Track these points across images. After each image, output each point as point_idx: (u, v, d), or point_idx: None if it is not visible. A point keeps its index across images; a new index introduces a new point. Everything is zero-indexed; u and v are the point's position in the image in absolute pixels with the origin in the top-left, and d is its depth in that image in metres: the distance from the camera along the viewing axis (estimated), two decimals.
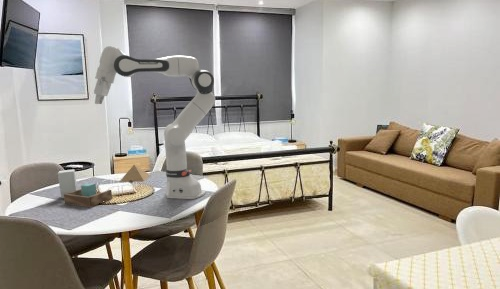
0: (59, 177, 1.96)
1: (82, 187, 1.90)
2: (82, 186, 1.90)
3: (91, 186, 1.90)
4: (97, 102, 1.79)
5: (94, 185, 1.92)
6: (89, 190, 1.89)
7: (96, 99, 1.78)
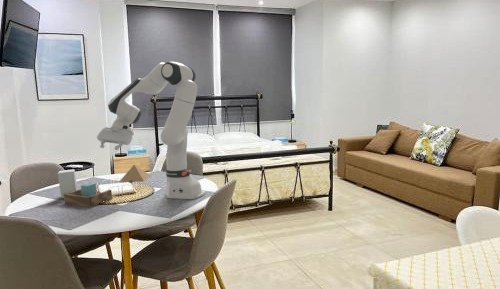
0: (59, 177, 1.96)
1: (82, 187, 1.90)
2: (82, 186, 1.90)
3: (91, 186, 1.90)
4: None
5: (94, 185, 1.92)
6: (89, 190, 1.89)
7: None
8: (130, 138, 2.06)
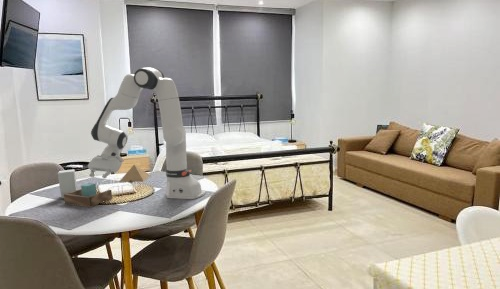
0: (59, 177, 1.96)
1: (82, 187, 1.90)
2: (82, 186, 1.90)
3: (91, 186, 1.90)
4: None
5: (94, 185, 1.92)
6: (89, 190, 1.89)
7: None
8: (118, 165, 1.98)
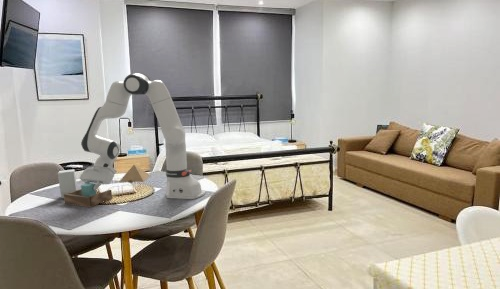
0: (59, 177, 1.96)
1: (82, 187, 1.90)
2: (82, 186, 1.90)
3: (91, 186, 1.90)
4: None
5: (94, 185, 1.92)
6: (89, 190, 1.89)
7: None
8: (111, 177, 1.93)
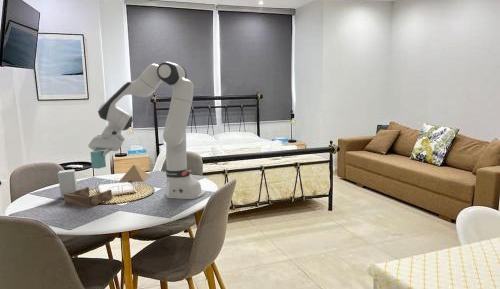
0: (59, 177, 1.96)
1: (91, 153, 1.94)
2: (91, 152, 1.94)
3: (100, 152, 1.94)
4: None
5: None
6: (98, 157, 1.93)
7: None
8: (119, 144, 1.97)
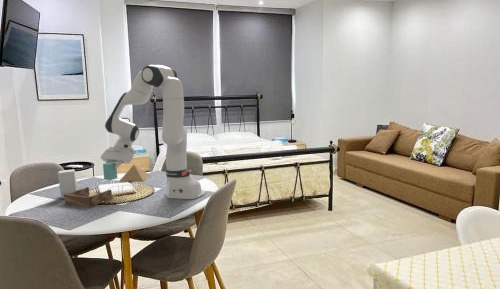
0: (59, 177, 1.96)
1: (104, 165, 2.03)
2: (104, 164, 2.03)
3: (112, 165, 2.03)
4: None
5: (115, 164, 2.05)
6: (110, 169, 2.02)
7: None
8: (131, 156, 2.06)
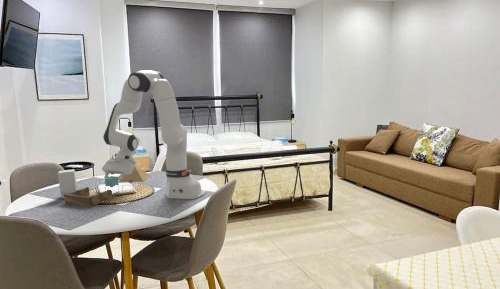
0: (59, 177, 1.96)
1: (106, 180, 2.04)
2: (106, 179, 2.04)
3: (114, 179, 2.05)
4: None
5: None
6: (112, 183, 2.03)
7: None
8: (132, 168, 2.07)
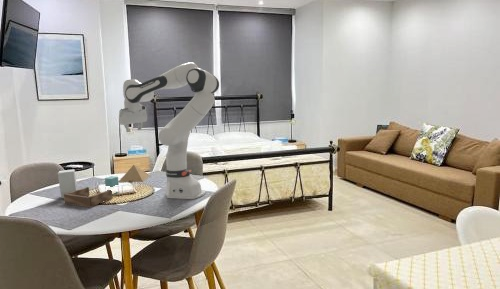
0: (59, 177, 1.96)
1: (106, 180, 2.04)
2: (106, 179, 2.04)
3: (114, 179, 2.05)
4: (127, 130, 2.08)
5: (117, 178, 2.06)
6: (112, 183, 2.03)
7: (126, 128, 2.07)
8: None
